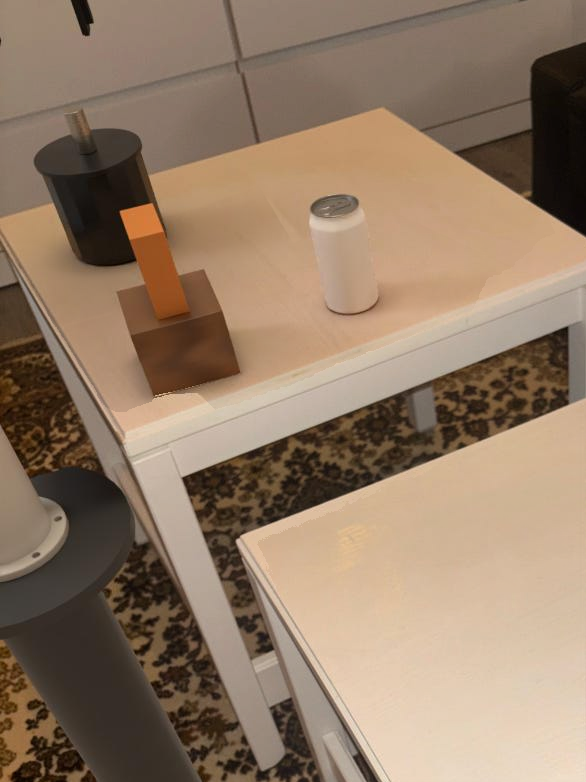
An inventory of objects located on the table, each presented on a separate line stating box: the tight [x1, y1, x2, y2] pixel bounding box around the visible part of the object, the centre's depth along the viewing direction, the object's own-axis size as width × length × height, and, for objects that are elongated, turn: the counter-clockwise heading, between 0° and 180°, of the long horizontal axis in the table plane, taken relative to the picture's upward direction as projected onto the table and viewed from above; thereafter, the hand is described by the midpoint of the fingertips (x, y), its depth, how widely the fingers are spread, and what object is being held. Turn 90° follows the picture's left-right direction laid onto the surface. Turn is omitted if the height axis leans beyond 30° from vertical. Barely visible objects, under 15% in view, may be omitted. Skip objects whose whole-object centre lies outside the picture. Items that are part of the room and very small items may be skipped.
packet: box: [120, 203, 190, 320], centre depth 104 cm, size 4×7×9 cm, turn 22°
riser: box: [116, 268, 242, 396], centre depth 111 cm, size 10×10×8 cm
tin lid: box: [33, 105, 143, 180], centre depth 124 cm, size 14×14×6 cm
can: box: [308, 193, 379, 315], centre depth 115 cm, size 6×6×12 cm
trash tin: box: [41, 151, 167, 266], centre depth 130 cm, size 13×13×12 cm
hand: (42, 39), depth 107 cm, fingers open, 9 cm apart
